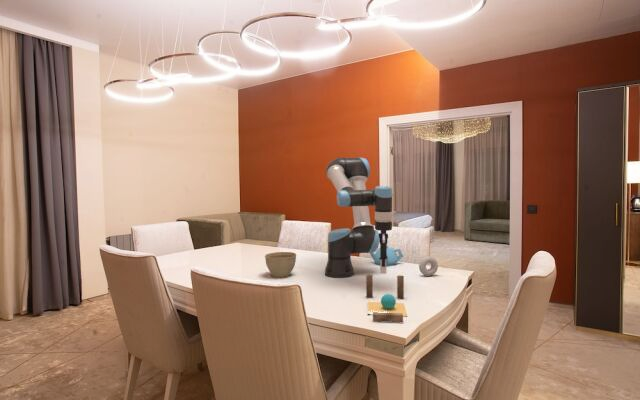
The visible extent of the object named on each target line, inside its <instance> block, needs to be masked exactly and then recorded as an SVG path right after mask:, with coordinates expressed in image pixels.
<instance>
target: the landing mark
mask: <svg viewBox="0 0 640 400" xmlns="http://www.w3.org/2000/svg"><path fill="white" fill-rule="evenodd" d="M371 310H372V312H373V310H374V311H378V312H379V311H380V312H384V311H385V312H386V311H387V313H388V312H389V313H402V314H403V317H408V314H407V310H406V306H405V302H396V304H395V306H394V307H393V308H392V309H386V308H384V307H383V306H382V304H381V301H368V302H367V310H366V311H370V312H371Z"/></svg>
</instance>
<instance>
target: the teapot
mask: <svg viewBox="0 0 640 400" xmlns="http://www.w3.org/2000/svg"><path fill="white" fill-rule="evenodd" d="M396 252H398V255H397V253H396ZM369 254H370V257H372V260H373V261H374V263H375V265H378V266H380V259H379V258H380V247H378V248H377V250H376V251H375V252H371V253H369ZM386 257H388V258H387V259H386V267H389V266H390V267H391V266H395V265H397V264H398V262H399V261H400V260H401V259H402V258H403V257H404V255H403V252H402V249H401V248H395V249H394V248H392V247H389V245H388V244H387V254H386Z"/></svg>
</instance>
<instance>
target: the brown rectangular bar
mask: <svg viewBox="0 0 640 400" xmlns="http://www.w3.org/2000/svg"><path fill="white" fill-rule="evenodd" d="M373 321H392V322H391V323H398V322H403V323H404V316H403V314H402V313H378V312H373V315H372V322H373Z"/></svg>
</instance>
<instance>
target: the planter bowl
mask: <svg viewBox="0 0 640 400" xmlns="http://www.w3.org/2000/svg"><path fill="white" fill-rule="evenodd" d="M264 257H265V258H264V259H265V264H266V267H267V269H268V271H269V272H270V273H271V276H272V277H273V278H286V277H289V276H291V272H292V271H293V270H294V268H295V265H296V263H297V262H296V260H297V259H296V258H297V253H295V252H291V251H277V252H270V253H266V254H265V255H264Z"/></svg>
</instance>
